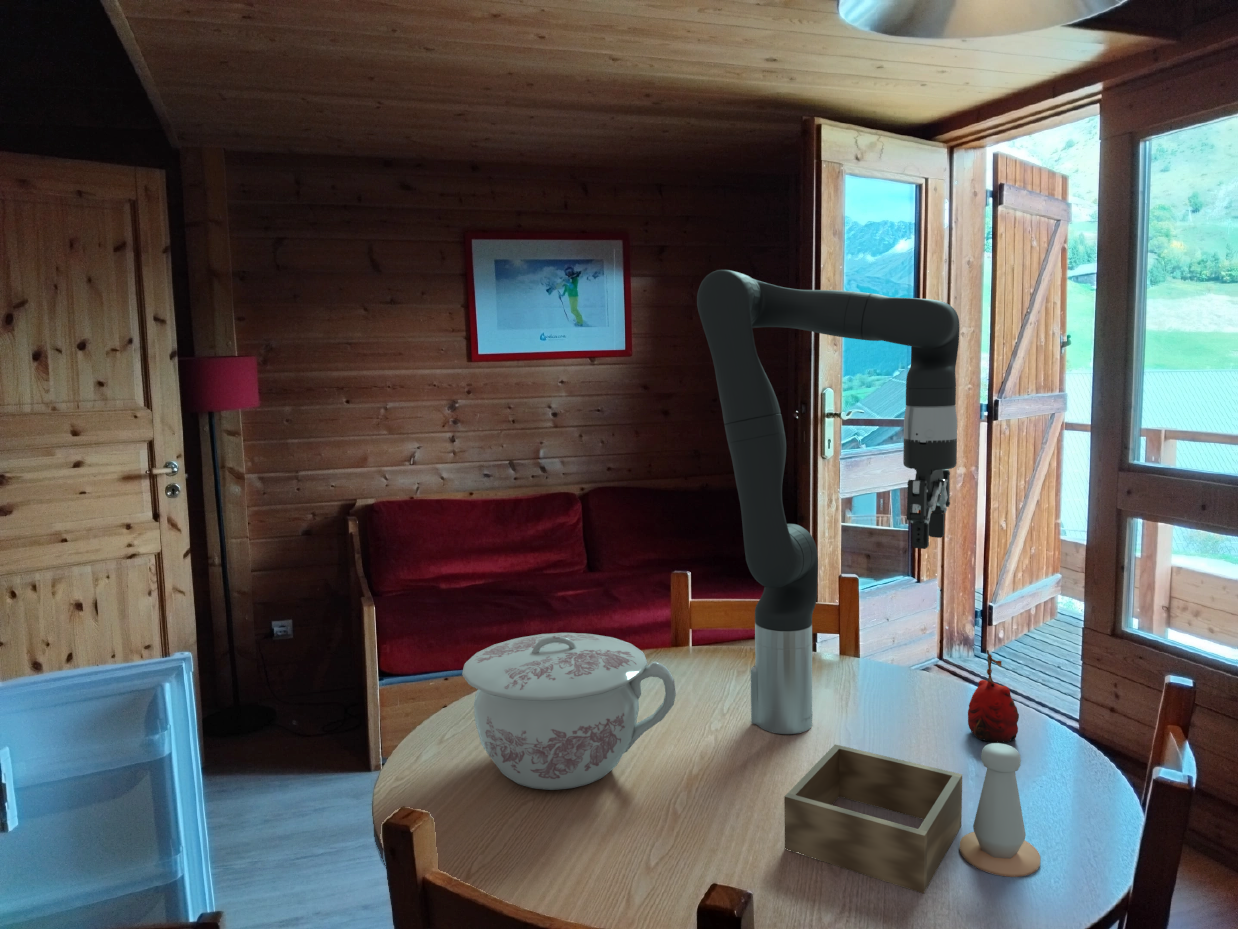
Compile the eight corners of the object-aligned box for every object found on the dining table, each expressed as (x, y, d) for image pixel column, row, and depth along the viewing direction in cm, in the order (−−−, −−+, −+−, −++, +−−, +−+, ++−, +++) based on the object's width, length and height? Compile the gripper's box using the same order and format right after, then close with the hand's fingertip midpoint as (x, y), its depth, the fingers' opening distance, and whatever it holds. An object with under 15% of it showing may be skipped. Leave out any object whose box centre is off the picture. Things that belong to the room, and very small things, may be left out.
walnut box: (784, 849, 109) (784, 796, 109) (834, 791, 123) (834, 744, 122) (923, 893, 100) (924, 835, 99) (961, 825, 114) (962, 774, 113)
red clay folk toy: (1025, 737, 139) (1028, 645, 137) (1005, 751, 134) (1007, 656, 132) (979, 723, 144) (980, 634, 142) (957, 736, 140) (959, 645, 138)
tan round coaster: (951, 862, 106) (951, 857, 106) (969, 828, 113) (969, 823, 113) (1032, 885, 101) (1032, 880, 101) (1046, 848, 108) (1046, 843, 108)
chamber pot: (430, 774, 132) (422, 641, 130) (562, 716, 152) (558, 599, 150) (557, 839, 113) (551, 685, 111) (690, 763, 133) (687, 631, 131)
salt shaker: (1030, 865, 104) (1033, 760, 102) (979, 861, 105) (981, 757, 103) (1017, 838, 109) (1020, 738, 108) (968, 835, 110) (970, 736, 109)
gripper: (918, 431, 139) (917, 531, 141) (889, 439, 127) (888, 549, 129) (968, 432, 135) (966, 536, 137) (943, 441, 123) (941, 554, 125)
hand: (928, 542), depth 133 cm, fingers open, 8 cm apart
